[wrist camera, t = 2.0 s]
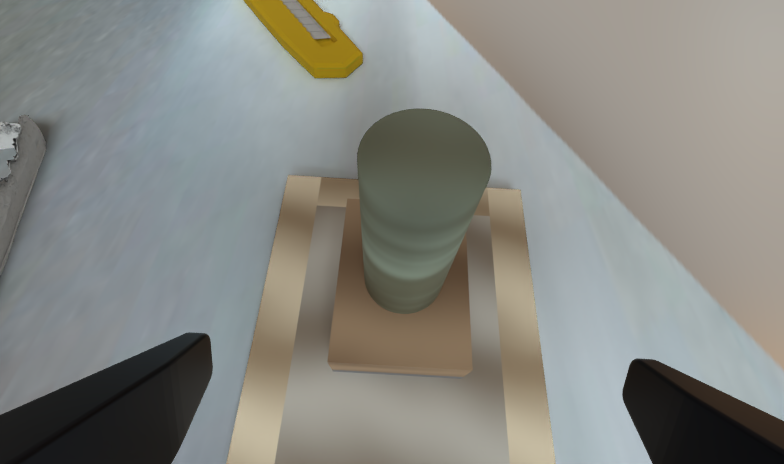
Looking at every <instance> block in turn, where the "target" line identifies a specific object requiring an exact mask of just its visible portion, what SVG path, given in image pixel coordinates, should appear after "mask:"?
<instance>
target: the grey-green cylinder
mask: <svg viewBox="0 0 784 464" xmlns="http://www.w3.org/2000/svg"><path fill="white" fill-rule="evenodd" d="M357 165H358V182H359V198H360V199H347V205H346V213H345V221H344V229H343V237H342V246H341V254H340V262H339V270H338V278H337V287H336V295H335V303H334V311H333V320H332V328H331V336H330V344H329V352H328V361H327V362H328V364H329V366H330V367H331V369H332V371H333V372H351V373H368V374H386V375H403V376H421V377H439V378H456V379H461V378H463V377H464V376H465V375H467V374H468V373H470V372H471V371H472V370H473V367H472V346H471V325H470V303H469V282H468V260H467V239H466V231H467V229H468V227H469V224H470V222H471V220H472V218H473V215H474V213H475V211H476V209H477V206H478V204H479V202H480V200H481V197H482V195H483V193H484V190H485V188H486V186H487V184H488V181H489V178H490V174H491V158H490V154H489V151H488V148H487V146H486V144H485V142H484V141H483V139H482V138H481V136H480V135H479V134H478V133H477V132H476V131H475V130H474V129H473V128H472V127H471V126H470V125H468V124H467V123H465V122H464V121H462V120H461V119H459V118H457V117H455V116H453V115H450V114H448V113H444V112H441V111H437V110H431V109H408V110H402V111H399V112H395V113H392V114H390V115H387V116H385V117H384V118H382V119H380V120H379V121H377V122H376V123H375V124H373V125H372V126H371V127H370V128H369V129H368V131H367V132H366V133H365V135H364V136H363V138H362V140H361V142H360V145H359V148H358V153H357Z"/></svg>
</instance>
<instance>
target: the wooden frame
mask: <svg viewBox="0 0 784 464" xmlns="http://www.w3.org/2000/svg"><path fill="white" fill-rule="evenodd" d="M347 199H360V198H359V182H358V179H344V178H328V177H312V176H296V175H288V178H287V182H286V187H285V192H284V196H283V201H282V206H281V210H280V215H279V220H278V224H277V229H276V234H275V238H274V243H273V248H272V252H271V257H270V262H269V266H268V271H267V276H266V280H265V285H264V290H263V294H262V299H261V304H260V308H259V313H258V318H257V322H256V327H255V332H254V336H253V341H252V346H251V351H250V355H249V360H248V365H247V369H246V374H245V379H244V383H243V388H242V393H241V397H240V402H239V407H238V411H237V416H236V421H235V425H234V430H233V435H232V439H231V444H230V449H229V453H228V458H227V463H226V464H556V463H555V455H554V447H553V439H552V431H551V424H550V416H549V408H548V400H547V393H546V385H545V377H544V369H543V362H542V354H541V346H540V338H539V330H538V323H537V315H536V307H535V299H534V292H533V284H532V276H531V268H530V261H529V253H528V245H527V237H526V229H525V222H524V214H523V206H522V198H521V191H520V190H517V189H502V188H485V190H484V193H483V195H482V197H481V200H480V202H479V204H478V206H477V209H476V211H475V213H474V215H473V218H472V220H471V222H470V224H469V227H468V229H467V231H466V239H467V260H468V282H469V303H470V325H471V346H472V367H473V370H472V371H471V372H470V373H468V374H467V375H465V376H464V377H463V378H461V379H456V378H439V377H421V376H403V375H386V374H368V373H351V372H333V371H332V369H331V367H330V366H329V364H328V362H327V361H328V352H329V344H330V336H331V328H332V320H333V311H334V303H335V295H336V287H337V278H338V270H339V262H340V254H341V246H342V237H343V229H344V221H345V213H346V205H347Z"/></svg>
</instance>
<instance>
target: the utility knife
mask: <svg viewBox="0 0 784 464" xmlns="http://www.w3.org/2000/svg"><path fill="white" fill-rule="evenodd" d="M244 1H245V3H246V4H247V5H248V6H249V8H250V9H251V10H252V11H253V12H254V14H255V15H256V16H257V17H258V19H259V20H260V21H261V22H262V23H263V24H264V25H265V27H266V28H267V29H268V30H269V31H270V32H271V34H272V35H273V36H274V37H275V38H276V39H277V40H278V42H279V43H280V44H281V45H282V46H283V47H284V48H285V49H286V50H287V51H288V52H289V53H290V54H291V55H292V56H293V57H294V58H295V59H296V60H297V61H298V62H299V63H300V64H301V65H302V66H303V67H304V68H305V69H306V70H307V71H308V72H309V73H310V74H311V75H312V76H313V77H314V78H346V77H347V76H348V75H349V74H351V73H352V72H353V71H354V70H355V69H356V68H358V67H359V66H360V65H361V64H362V63H363V55H362V52H361V51H360V50H359V49H358V48H357V47H356V45H355V44H354V43H353V42H352V41H351V40H350V39H349V38H348V37H347V36H346V34H345V33H344V32H343V31H342V30H341V29H340V26H339V20H338V19H337V18H336V17H335V16H334V15H333V14H330V13H327V12H323V10H322V9H321V8H320V7H319V6H318V5H317V4H316V3H315V2H314V1H313V0H244Z"/></svg>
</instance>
